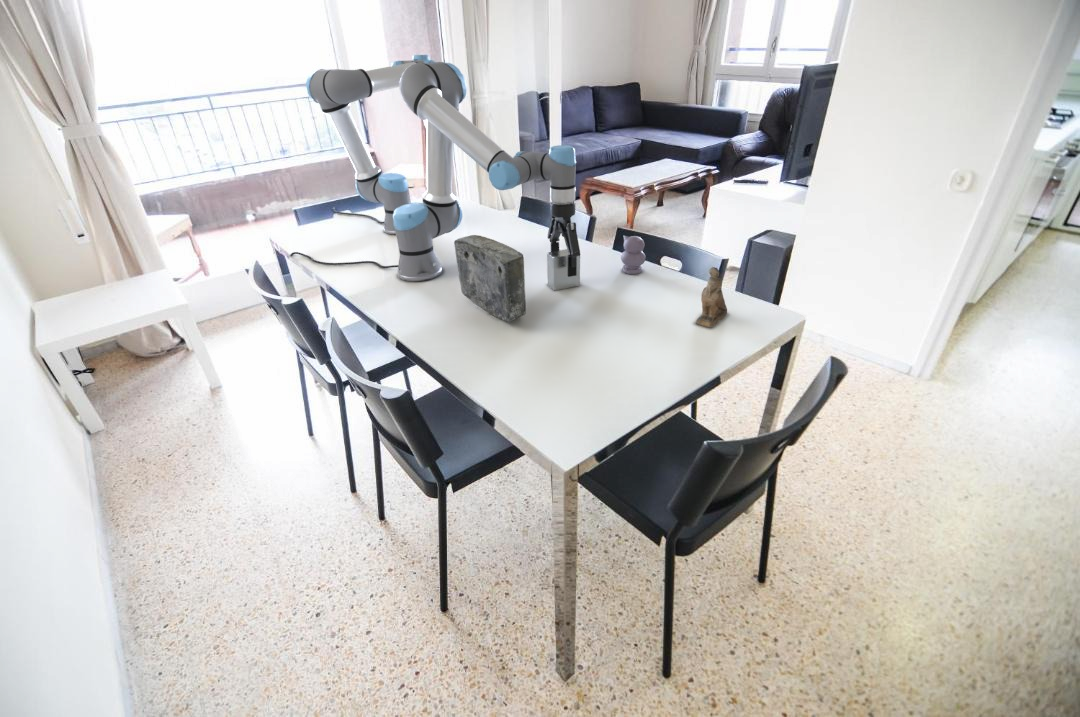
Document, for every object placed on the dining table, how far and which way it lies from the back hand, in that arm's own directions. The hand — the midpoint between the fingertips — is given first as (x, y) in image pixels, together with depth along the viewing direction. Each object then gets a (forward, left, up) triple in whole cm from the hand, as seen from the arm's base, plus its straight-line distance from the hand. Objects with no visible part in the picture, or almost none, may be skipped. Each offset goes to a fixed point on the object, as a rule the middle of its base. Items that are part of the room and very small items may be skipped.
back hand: (433, 144), depth 239 cm
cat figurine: (+109, -64, -30) cm, 130 cm away
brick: (+89, -81, -30) cm, 124 cm away
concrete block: (+75, -106, -30) cm, 133 cm away
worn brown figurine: (+136, -94, -30) cm, 168 cm away
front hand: (+89, -82, -24) cm, 123 cm away
